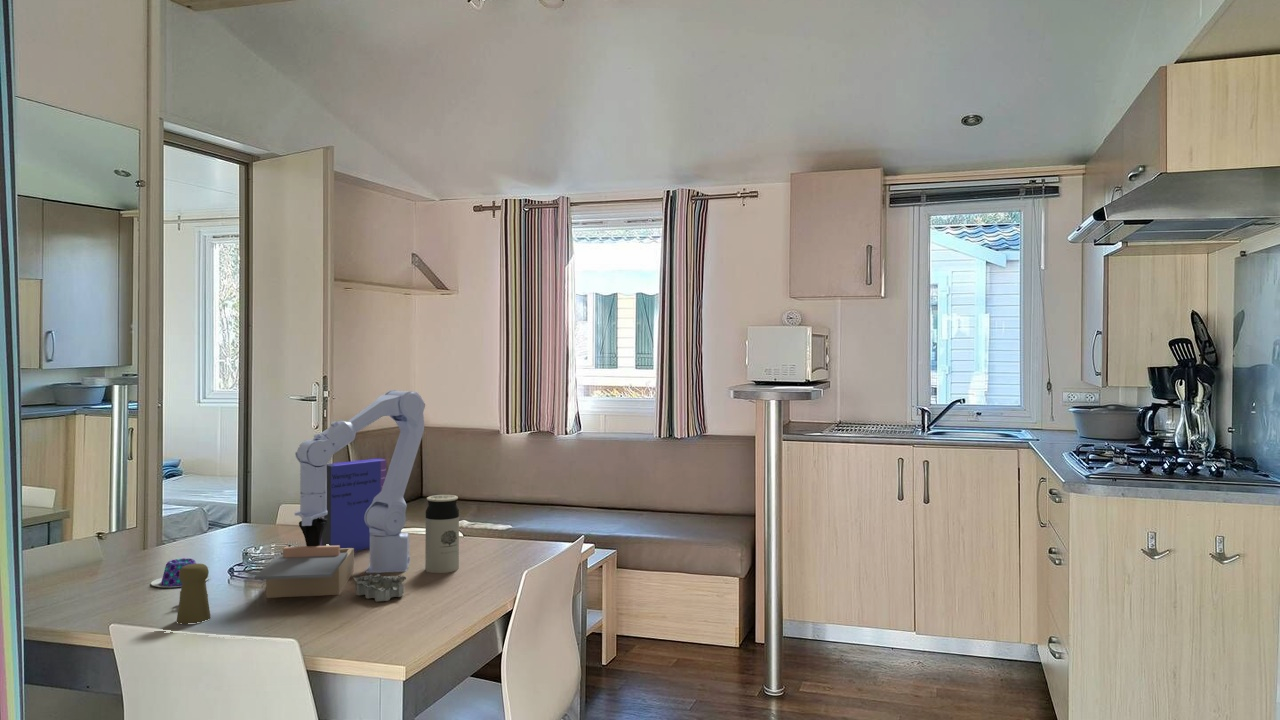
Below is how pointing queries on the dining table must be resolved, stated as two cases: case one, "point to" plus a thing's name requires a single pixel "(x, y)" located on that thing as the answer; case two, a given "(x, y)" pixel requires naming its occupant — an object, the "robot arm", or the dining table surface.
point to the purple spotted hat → (173, 573)
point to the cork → (193, 594)
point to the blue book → (351, 501)
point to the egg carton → (380, 586)
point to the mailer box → (313, 581)
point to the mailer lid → (304, 563)
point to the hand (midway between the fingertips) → (313, 551)
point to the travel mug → (442, 534)
